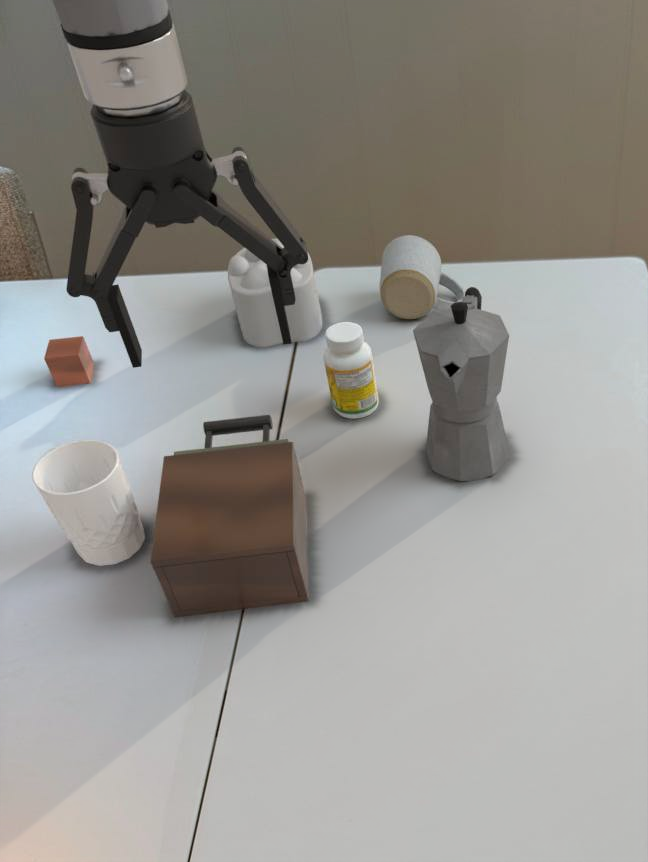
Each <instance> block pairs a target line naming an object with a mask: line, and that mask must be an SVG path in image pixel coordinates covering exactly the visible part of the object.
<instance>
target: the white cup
mask: <svg viewBox="0 0 648 862" xmlns="http://www.w3.org/2000/svg"><path fill="white" fill-rule="evenodd" d="M31 478H32V481H33V484H34V486H35V487H36V490H37V491H38V493H39V494H40V496H41V497H42V499H43V501H44V502H45V505H46V506H47V507H48V509H49V511H50V513H51V514H52V515H53V517H54V519H55V520H56V522H57V524H58V525H59V527H60V528H61V530H62V532H63V534H64V535H65V537H66V538H67V539H68V540H69V542H70V543H71V544H72V546H73V548H74V549H75V551H76V553H77V554H78V556H80V558H81V559H82V560H83V561H84V562H86V563H87V564H90V565H91V564H92V565H94V566H98V567H102V566H113V565H116V564H119V563H121V562H124V561H126V560H129V559H130V558H131V557H133V556H134V555H135V554H136V553H137V552H139V551H140V550H141V548H142V547H143V544H144V542H145V540H146V535H145V529H144V525H143V522H142V521H141V517H140V513H139V510H138V506H137V503H136V501H135V497H134V495H133V492H132V491H133V490H132V488H131V485H130V483H129V479H128V477H127V474H126V472H125V469H124V466H123V464H122V461H121V459H120V455H119V453H118V451H117V450H116V448H115V447H114V446H112V445H111V444H109V443H108V442H105V441H102V440H97V439H79V440H74V441H73V440H72V441H70V442H69V441H68V442H66V443H63V444H61V445H59V446H57V447H56V446H55V448H53V449H51V450H50V451H48V452H46V453H45V454H44V455H43V456H41V457H40V459H39V460H38V461H37V462H36V464H35V465H34V467H33V470H32V474H31Z"/></svg>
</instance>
